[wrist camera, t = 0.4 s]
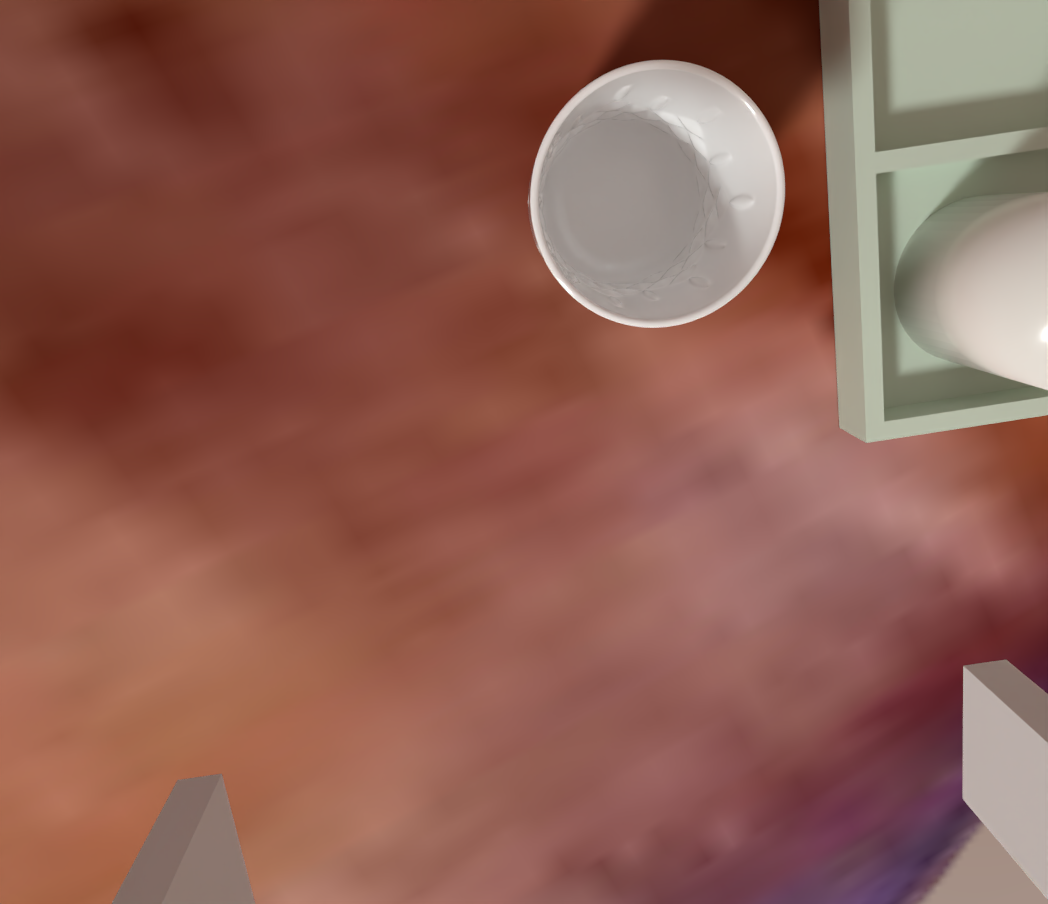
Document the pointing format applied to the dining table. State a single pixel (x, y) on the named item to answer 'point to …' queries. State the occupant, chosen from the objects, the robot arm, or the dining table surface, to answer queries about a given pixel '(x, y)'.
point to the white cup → (657, 193)
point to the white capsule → (980, 285)
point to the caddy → (922, 185)
